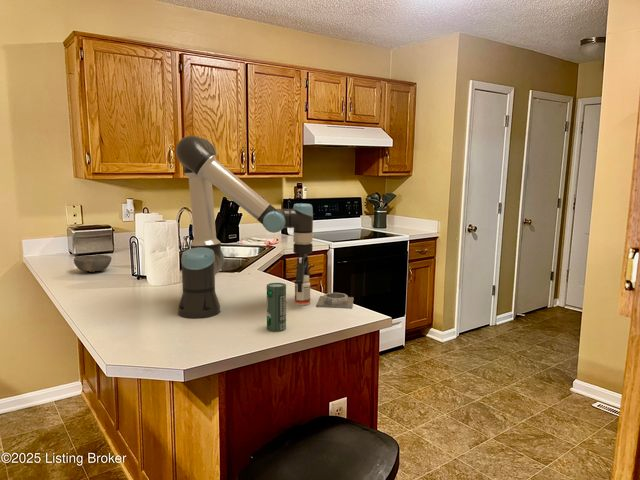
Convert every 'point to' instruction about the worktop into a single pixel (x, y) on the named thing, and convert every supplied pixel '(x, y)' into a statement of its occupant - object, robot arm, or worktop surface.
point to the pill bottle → (306, 292)
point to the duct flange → (335, 301)
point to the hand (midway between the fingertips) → (302, 295)
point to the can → (276, 307)
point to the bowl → (92, 262)
